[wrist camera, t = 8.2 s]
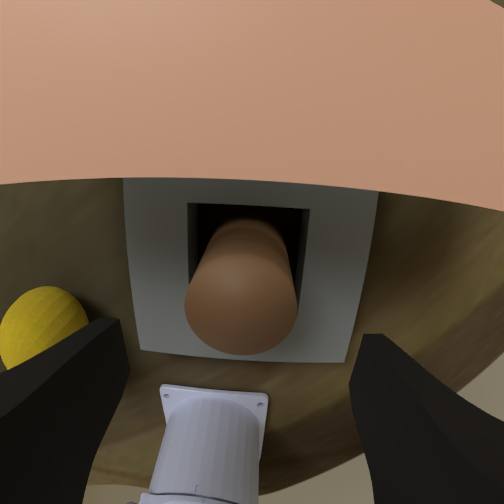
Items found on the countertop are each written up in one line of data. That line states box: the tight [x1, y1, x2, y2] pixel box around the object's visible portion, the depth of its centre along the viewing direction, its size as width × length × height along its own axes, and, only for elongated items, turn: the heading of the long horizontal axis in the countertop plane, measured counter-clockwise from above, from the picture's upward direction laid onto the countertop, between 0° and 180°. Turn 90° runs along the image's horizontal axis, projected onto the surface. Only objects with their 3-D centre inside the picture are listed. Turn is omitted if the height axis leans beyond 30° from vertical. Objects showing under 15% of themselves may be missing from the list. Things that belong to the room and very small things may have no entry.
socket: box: [123, 177, 379, 363], centre depth 16 cm, size 12×12×2 cm
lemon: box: [0, 286, 89, 370], centre depth 16 cm, size 6×6×8 cm
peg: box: [184, 209, 297, 356], centre depth 14 cm, size 4×4×7 cm
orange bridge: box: [0, 0, 504, 211], centre depth 10 cm, size 6×18×10 cm, turn 87°
